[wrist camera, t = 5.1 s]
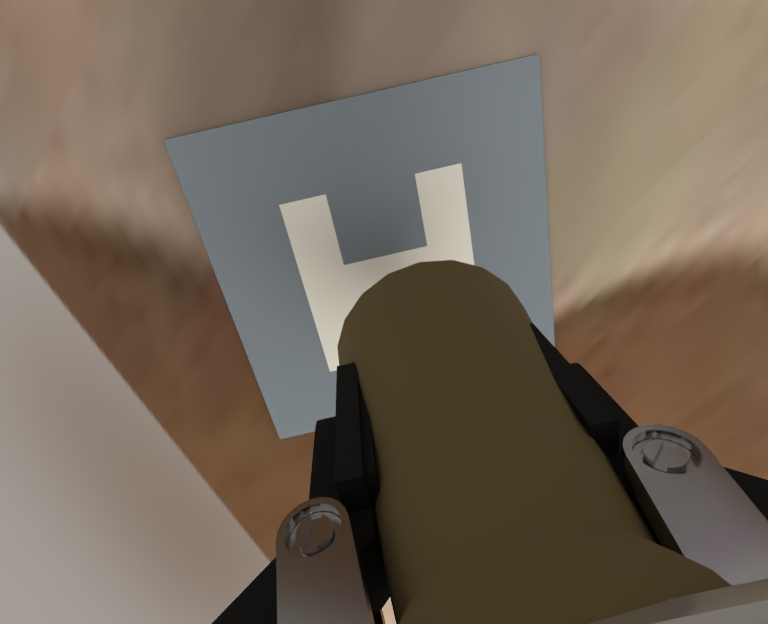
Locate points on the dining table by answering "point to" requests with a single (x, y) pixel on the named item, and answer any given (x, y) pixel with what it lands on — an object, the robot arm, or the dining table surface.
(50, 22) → the dining table surface
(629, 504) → the cork
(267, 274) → the letter sheet
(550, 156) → the dining table surface
